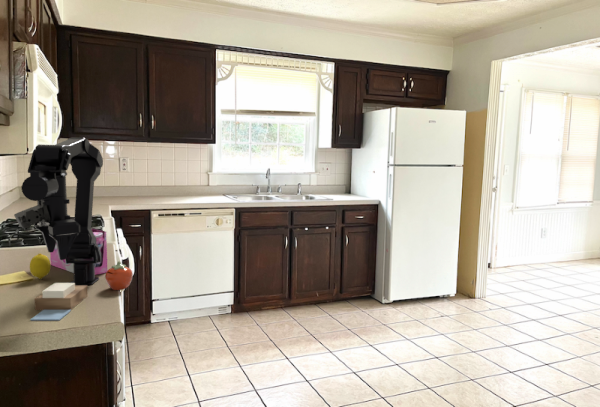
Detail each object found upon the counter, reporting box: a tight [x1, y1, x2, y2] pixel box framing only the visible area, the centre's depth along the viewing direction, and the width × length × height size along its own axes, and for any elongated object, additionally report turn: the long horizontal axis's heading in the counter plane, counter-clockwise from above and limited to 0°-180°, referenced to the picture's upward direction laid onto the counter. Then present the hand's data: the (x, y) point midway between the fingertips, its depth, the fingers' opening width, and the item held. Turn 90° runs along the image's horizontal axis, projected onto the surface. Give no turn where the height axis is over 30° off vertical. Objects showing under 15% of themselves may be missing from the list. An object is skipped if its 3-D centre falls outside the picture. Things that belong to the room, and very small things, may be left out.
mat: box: [29, 310, 72, 322], centre depth 110 cm, size 6×6×1 cm
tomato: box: [104, 260, 134, 291], centre depth 132 cm, size 7×7×8 cm
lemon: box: [29, 253, 52, 280], centre depth 139 cm, size 6×6×8 cm
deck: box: [34, 285, 89, 311], centre depth 119 cm, size 11×8×3 cm
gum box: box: [49, 227, 108, 276], centre depth 151 cm, size 24×8×14 cm, turn 54°
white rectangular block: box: [41, 282, 75, 298], centre depth 117 cm, size 7×5×2 cm
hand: (56, 255), depth 117 cm, fingers open, 9 cm apart
